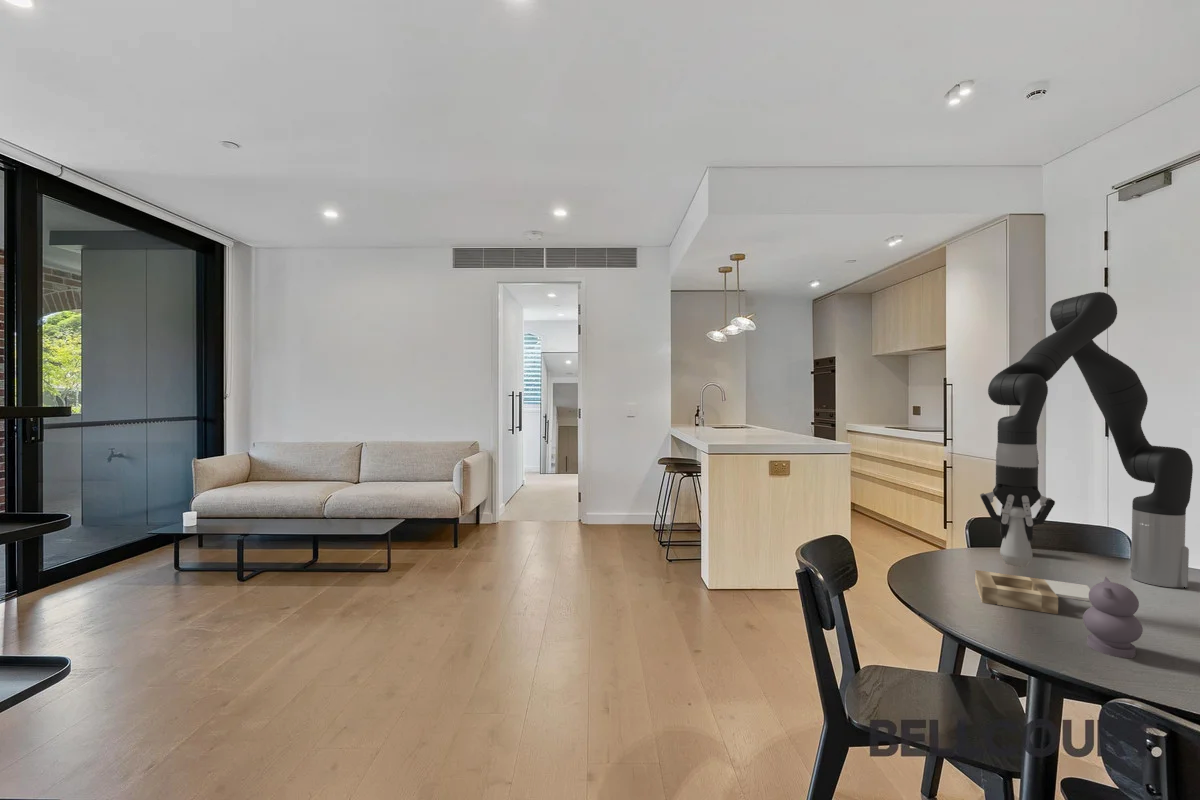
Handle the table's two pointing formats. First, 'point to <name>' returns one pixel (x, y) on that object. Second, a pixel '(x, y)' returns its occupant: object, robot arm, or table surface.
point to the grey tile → (1069, 590)
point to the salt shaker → (1016, 540)
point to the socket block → (1016, 591)
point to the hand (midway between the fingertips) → (1015, 540)
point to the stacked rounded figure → (1112, 619)
